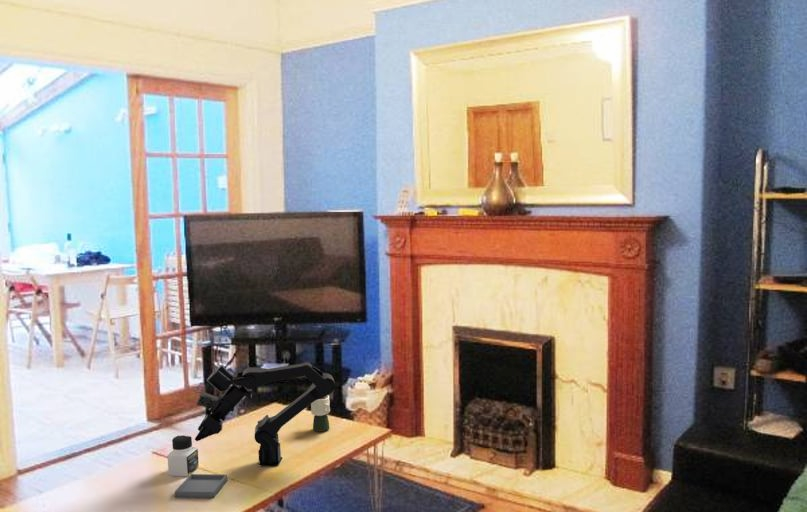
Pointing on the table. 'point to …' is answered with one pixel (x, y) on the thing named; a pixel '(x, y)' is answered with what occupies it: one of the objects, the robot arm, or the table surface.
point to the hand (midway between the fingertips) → (197, 435)
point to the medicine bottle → (182, 457)
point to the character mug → (320, 413)
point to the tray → (201, 486)
